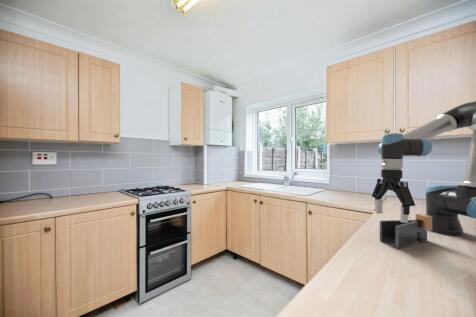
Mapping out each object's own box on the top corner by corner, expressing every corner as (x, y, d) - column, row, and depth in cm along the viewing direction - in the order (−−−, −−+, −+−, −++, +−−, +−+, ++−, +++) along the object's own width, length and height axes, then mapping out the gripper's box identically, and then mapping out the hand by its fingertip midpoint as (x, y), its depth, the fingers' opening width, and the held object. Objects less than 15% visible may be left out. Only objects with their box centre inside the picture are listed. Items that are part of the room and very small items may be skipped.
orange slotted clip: (422, 227, 95) (422, 213, 95) (432, 230, 91) (432, 216, 91) (415, 227, 95) (415, 214, 95) (425, 230, 90) (425, 216, 90)
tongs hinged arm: (414, 240, 92) (414, 221, 92) (417, 241, 91) (417, 221, 91) (395, 247, 85) (395, 225, 85) (398, 248, 84) (398, 226, 84)
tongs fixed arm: (424, 239, 94) (424, 219, 94) (431, 242, 91) (431, 221, 91) (379, 240, 93) (379, 220, 93) (385, 243, 89) (385, 222, 89)
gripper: (364, 167, 104) (363, 210, 104) (409, 170, 79) (408, 226, 79) (378, 167, 104) (377, 210, 104) (427, 170, 79) (426, 226, 79)
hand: (390, 217), depth 92 cm, fingers open, 13 cm apart
